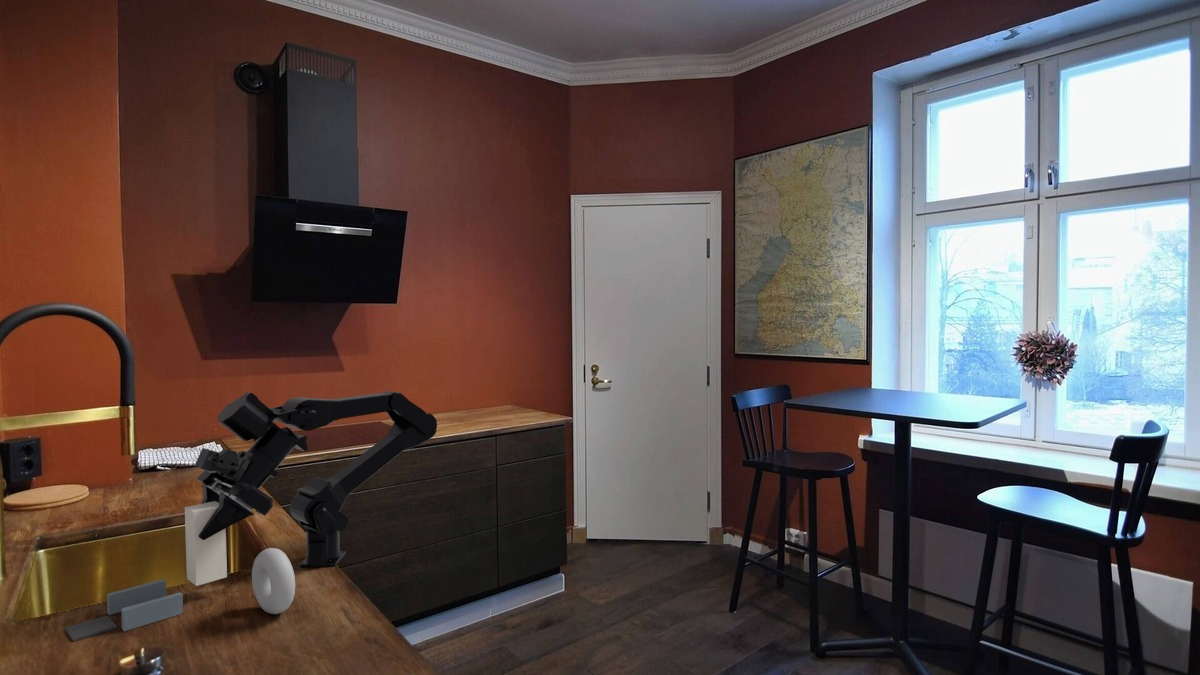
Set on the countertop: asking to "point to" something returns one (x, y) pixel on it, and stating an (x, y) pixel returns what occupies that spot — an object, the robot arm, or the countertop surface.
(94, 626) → the mat
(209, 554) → the block
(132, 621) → the channel
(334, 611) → the countertop surface
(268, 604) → the donut
